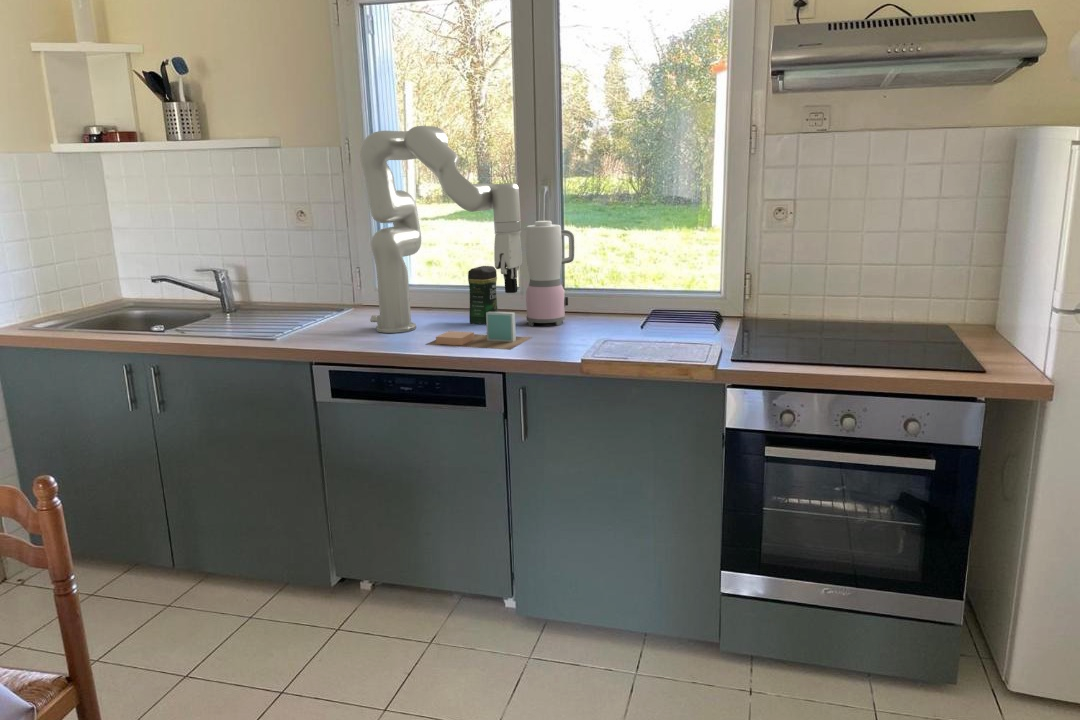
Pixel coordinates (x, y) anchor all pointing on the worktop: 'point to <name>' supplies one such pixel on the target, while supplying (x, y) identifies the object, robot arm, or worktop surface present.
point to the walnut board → (488, 343)
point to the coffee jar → (482, 293)
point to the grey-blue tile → (501, 326)
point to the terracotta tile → (455, 338)
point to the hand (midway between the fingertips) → (511, 292)
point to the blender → (546, 272)
